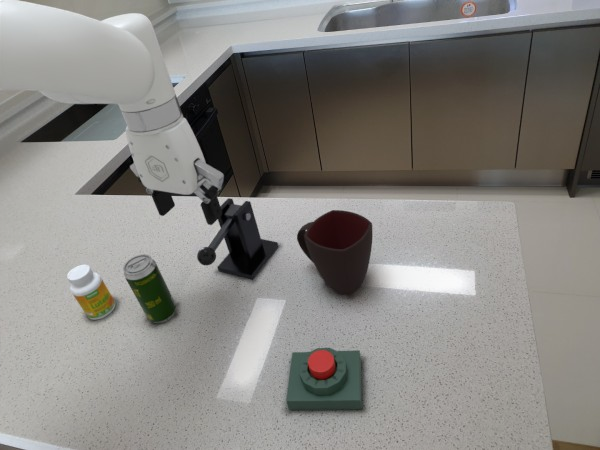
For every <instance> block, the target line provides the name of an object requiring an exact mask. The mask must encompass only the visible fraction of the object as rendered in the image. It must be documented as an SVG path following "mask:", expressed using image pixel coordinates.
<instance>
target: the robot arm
mask: <svg viewBox="0 0 600 450" xmlns="http://www.w3.org/2000/svg"><path fill="white" fill-rule="evenodd" d="M0 91H31V92H32V91H33V92H39V93H40V94H42V95H43V96H44V97H46V98H48V99H50V100H52V101H55V102H58V103H62V104H69V105H70V104H72V105H95V104H97V105H117V106H118V107H119V110H120V113H121V114H122V117H123V120H124V122H125V125H126V127H125V135H126V139H127V145H128V148H129V152H130V154H131V158H132V160H133V163H132V164H130V165H129V168H130V170H131V171H132V172H133V174H134V176H136V177H137V180H138V182H139V183H140V184H142V186H143V187H145V190H146V191H145V192H146V193H147V194H149V195H151V199H152V200H153V203H154V205H155V208H156V210H157V213H158V214H159V216H162V217H164V216H166V215H167V214H168V213H169V212H171V210H172V209H174V208H175V206H176V204H175V201H174V198H173V196H172V194H177V195H183V196H186V195H187V196H188V195H189V196H190V195H192V194H194V195H196V196H197V197H198V198H199V200H200V201H202V202H200V207H201V210H202V213H203V216H204V218H205V221H206V223H207V225H209V226H212V225H214V224H215V222H217V221H218V218H219V217H220V216H221V215H222V210H221V207H220V206H221V205H220V204H221V203H220V201H219V198H218V195H219V194H220V191H221V190H222V189H223V187H224V179H225V175H224V173H223V172H221V171H220V170H219V169H217V168H214V167H213V166H211V165H210V164H208V163H206V159H205V157H204V154H203V151H202V149H201V146H200V143H199V141H198V140H197V137H196V136H195V133H194V131H193V128H192V127H191V125H190V124H189V122H188V120H187V118H185V117H184V114H183V111H182V108H181V106H180V103H179V100H178V97H177V94H176V91H175V88H174V85H173V82H172V80H171V76H170V73H169V71H168V67H167V64H166V61H165V58H164V56H163V53H162V50H161V46H160V43H159V41H158V38H157V35H156V32H155V28H154V26H153V24H152V22H151V20H150V19H149V17H147V16H146V15H145V14H142V13H140V12H139V13H138V12H130V13H124V14H119V15H114V16H110V17H108V18H105V19H102V20H99V19H96V18H93V17H91V16H87V15H84V14H81V13H78V12H73V11H71V10H66V9H62V8H58V7H54V6H49V5H44V4H39V3H34V2H29V1H25V0H0ZM201 186H203V187H205V189H207V191H206V192H205V191H204V190H203V189H202V188H201Z"/></svg>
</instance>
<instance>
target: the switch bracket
mask: <svg viewBox="0 0 600 450" xmlns="http://www.w3.org/2000/svg"><path fill="white" fill-rule="evenodd" d="M231 204H235V203H234V199H233V198H230V197H229V198H227V199H226V200H225V201H224V202H223V203H222V204H221V205H220V207H221V210H222V215H221V216H220V217H219V218H218V219H217V221H218V224H219V227H220V228H221V227H222V226H223V224H224V223H225V221H226V220H227V219H226V217H225V215H224V214H225V213H226V211H227V210H228V209H229V207H230V206H231ZM233 217H234V220H235V223H236V225H235V224H233V225H232V227H231V228H230V230H229V231H228V233H227V234H226V236H225V237H224V239H223V240H224V242H225V244H226V248H227V251H228V254H227V255H226V257H224V259H223V260H222V261H221V262H220V263H219V265H217V271H218V272H220V273H223V274H226V275H231V276H235V277H239V278H243V279H245V280H246V279H247V280H251V281H254V279H255V278H256V277H257V276H258V274H259V273H260V271H261V270H262V269H263V267H264V266H265V265H266V264H267V262H268V261H269V260H270V259H271V257H272V256H273V254H274V253H275V252H276V251H277V250H278V248H279V243H278V241H274V240H268V239H265V238H264V239H263V238H262V237H261V234H260V230H259V227H258V224H257V220H256V217H255V213H254V210H253V206H252V202H251V201H249V200H245V201H244V202H243V203H242V204H241V207H240V208H239V209H238V210H237V211H236V212H235V213H234V214H233Z"/></svg>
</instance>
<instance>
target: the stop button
mask: <svg viewBox="0 0 600 450" xmlns="http://www.w3.org/2000/svg"><path fill="white" fill-rule="evenodd" d="M308 366H309V370H310V373H311V375H312V376H313V377H314V378H316V379H320V380H324V379H327V378H329V377H331V376H332V375H333V374H334V372H335V369H336V366H335V361H334V357H333V355H332V354H331V353H330V352H328V351H325V350H319V351H316V352H314V353H312V354H311V355H310V357H309V359H308Z"/></svg>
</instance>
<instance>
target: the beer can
mask: <svg viewBox="0 0 600 450" xmlns="http://www.w3.org/2000/svg"><path fill="white" fill-rule="evenodd" d="M122 271H123V276H124V278H125V280H126V282H127V284H128V286H129V287H130V289H131V292H132V294H133V295H134V297H135V299H136V301H137V302H138V304H139V305H140V308H141V309H142V311H143V313H144V315H145V317H146V318H147V320H148V321H149V322H151V323H154V324H163V323H166V322H168V321H169V320H171V319H172V318H174V316H175V313H176V310H177V303H176V301H175V300H174V298H173V296H172V294H171V291H170V289H169V288H168V285H167V283H166V281H165V279H164V277H163V275H162V273H161V270H160V269H159V266H158V264H157V262H156V261H155V259H154V258H153V257H152V255H149V254H146V253H144V254H139V255H135V256H133V257H131V258H130V259H128V260H127V261H126V262H125V263H124V265H123V267H122Z"/></svg>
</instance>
